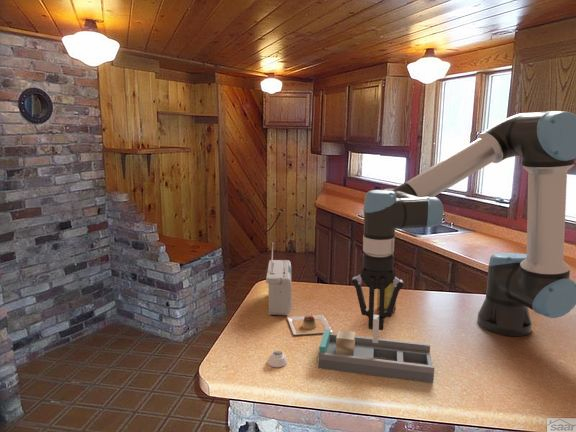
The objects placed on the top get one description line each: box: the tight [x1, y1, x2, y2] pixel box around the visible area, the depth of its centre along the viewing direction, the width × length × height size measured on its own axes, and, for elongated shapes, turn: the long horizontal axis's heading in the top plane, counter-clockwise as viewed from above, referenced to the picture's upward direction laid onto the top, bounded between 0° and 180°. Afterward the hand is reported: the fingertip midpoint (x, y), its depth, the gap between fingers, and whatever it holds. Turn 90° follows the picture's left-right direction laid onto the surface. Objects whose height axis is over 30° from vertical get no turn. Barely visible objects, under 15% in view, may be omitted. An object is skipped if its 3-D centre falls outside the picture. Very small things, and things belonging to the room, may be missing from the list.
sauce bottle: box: [376, 252, 397, 314], centre depth 143 cm, size 6×6×20 cm
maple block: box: [336, 329, 356, 356], centre depth 113 cm, size 4×4×4 cm
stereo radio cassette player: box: [265, 242, 292, 317], centre depth 148 cm, size 21×8×20 cm, turn 179°
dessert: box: [286, 312, 334, 336], centre depth 133 cm, size 12×12×5 cm
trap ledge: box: [317, 328, 435, 384], centre depth 112 cm, size 28×12×6 cm, turn 77°
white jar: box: [267, 349, 288, 368], centre depth 112 cm, size 5×3×5 cm
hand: (375, 340), depth 111 cm, fingers closed
